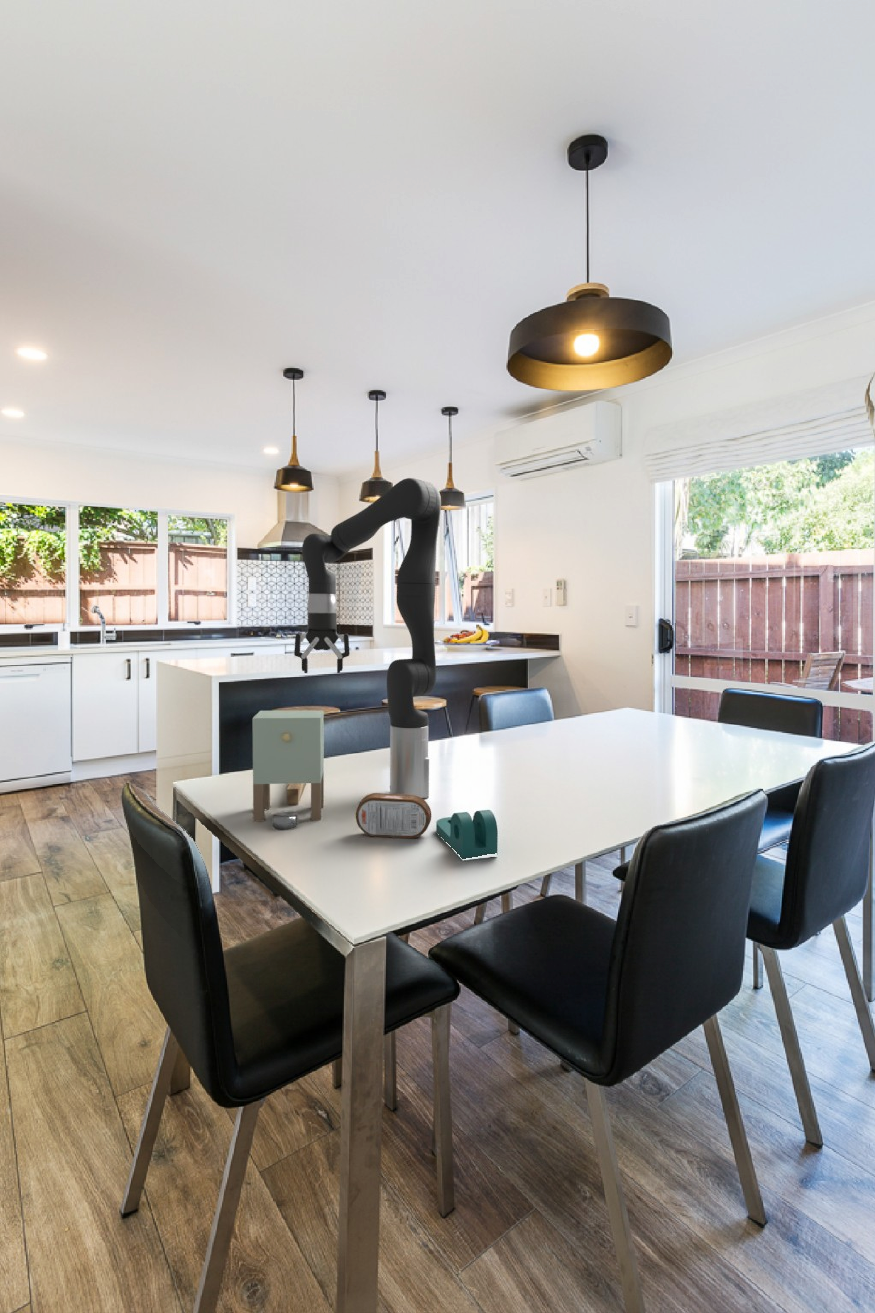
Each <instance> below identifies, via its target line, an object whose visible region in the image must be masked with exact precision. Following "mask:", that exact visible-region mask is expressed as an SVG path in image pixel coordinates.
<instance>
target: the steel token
mask: <svg viewBox="0 0 875 1313" xmlns="http://www.w3.org/2000/svg"><path fill="white" fill-rule="evenodd" d="M297 827H298V813H297V812H293V811H280V812H275V813H273V814H272V828H273V830H278V831H288V830H293V829H296V828H297Z"/></svg>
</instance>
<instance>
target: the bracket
mask: <svg viewBox="0 0 875 1313" xmlns="http://www.w3.org/2000/svg"><path fill="white" fill-rule="evenodd" d="M435 823H436V828H435V830H436V832H437V833H438V834H439V836H440V837H442V838H443V839H444V841H445V842H447V843H448V844H449V845H450V846H451V848H453V849H454V850H455V851H456V852H457V854H459V855H460V857H461V858H462V859H466V858H472V857H478V856H482V855H487V854H495V853H497V854H498V839H499V838H498V824H497V820H496V817H495V813H494V812H492V810H490V809H485V810H476V811H475V812H474V813H473V816H471V814H470V813H469V812H468V811H463V812H453V813H452V815H451V816H450V817H442V818H439V819H437V820H436V822H435ZM436 832H435V833H436ZM437 833H436V834H437ZM439 836H438V837H439ZM440 837H439V838H440ZM444 841H443V842H444ZM445 842H444V843H445ZM451 848H450V849H451Z"/></svg>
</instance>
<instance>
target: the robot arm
mask: <svg viewBox="0 0 875 1313" xmlns="http://www.w3.org/2000/svg"><path fill="white" fill-rule="evenodd" d="M440 493H441V492H440V491H439V489H438V487H437V486H436V485H434V484H433V483H431V482H428V481H425V480H421V479H417V478H414V477H408V478H404V479H402V480H400V481H398V482H397V483H396V484H395V485H393V486H392V487H390V488H389V489H388V490H387V491H386V492H385V493H384V494H383V495H381V496H380V497H379V498H377V499H376V500H374V502H371V504H369V505H368V506H367V507H365V508H364V509H362V510H361V511H359V512H358V513H356V514H354V515H352V516H351V517H348V518H346V519H345V520H342V522H340V523H338V524H336V525H335V526H334V527H333V528H332V529H331V533H330V535H327V534H326V535H325V534H320V533H309V534H308V535H307V536H306V537H305V538H304V540H303V541H302V542H303V543H302V546H301V553H302V554H301V555H302V558H303V563H304V566H305V571H306V575H307V577H308V597H307V598H308V599H307V608H306V609H307V632H306V633H305V634H303V633H299V632H297V633H296V634H295V636H294V637H295V638H294V650H293V651H294V654H293V655H294V656H295V657H298V658H300V659H301V671H302V672H304V674H308V671H309V668H308V663H309V662H308V655H310V654H311V652H312V651H313V650H315V651H321V650H323V651H329V650H331V651H332V652H333V653H334V654H335V656H336V657H337V659H336V669H337V670H336V673H337V674H340V673H341V671H343V668H344V667H343V666H344V664H343V663H344V659H345V658H347V657H349V656H350V654H351V653H350V639H349V638H350V637H349V634H348V633H344V634H339V633H338V632H337V630H338V629H337V628H338V626H337V624H338V620H337V619H338V617H337V616H338V615H337V614H338V613H337V611H338V608H337V606H338V605H337V595H336V593H337V592H336V590H337V589H336V586H337V584H336V580H337V579H336V574H335V573H333V572H331V571H329V570H328V569H327V567H326V564H327V563H335V562H337V561H339V560H341V559H342V558H344V556H345V555H347V554H348V553H349V552H350V551H351V550H352V549H354V548H356V547H358V546H360V545H363V544H364V543H366V542H368V541H369V540H370V539H371V538H373V537H374V536H375V535H376V534H377V532H378V531H379V530H380V529H381V528H382V527H383V526H385V525H386V524H388V523H391V522H393V521H396V520H397V521H398V520H399V519H404V518H405V519H407V520H410V524H411V529H410V542H409V547H408V548H407V551H406V553H405V556H404V558H403V560H402V562H401V564H400V566H399V569H398V573H397V576H396V577H397V578H396V606H397V609H398V612H399V613H400V614H399V615H400V616H401V618H402V620H403V622H404V623H405V626H406V628H407V630H408V632H409V635H410V638H411V649H412V650H411V651H412V653H411V658H401V659H400V658H399V659H395V660H393V661H392V662H391V663H390V664H389V667H388V668H387V672H386V696H387V698H386V699H387V700H386V701H387V712H388V716H389V719H390V724H389V725H390V726H389V727H390V730H389V731H390V732H389V735H390V737H389V739H390V740H389V741H390V742H389V744H390V745H389V794H405V795H416V796H418V797H420V798H422V799H426V798H429V796H430V794H429V793H430V792H429V791H430V758H429V721H430V720H429V715H428V713H427V712H425V711H423V710H420V709H418V708H416V707H415V704H414V703H415V702H414V698H416V697H423V696H428V695H430V694H431V693H432V692H433V690H434V689H435V686H436V683H437V681H436V680H437V665H436V664H437V663H436V662H437V659H436V648H435V647H436V646H435V602H436V569H437V568H436V567H437V565H436V564H437V562H436V561H437V547H438V546H437V545H438V544H437V542H438V534H439V533H438V532H439V526H440V518H441V509H442V498H441V494H440ZM305 639H306V641H307V642H308V643H309V645H308V646H307V648H306V649H305V650H304V651H303V652H301V645H302V644H301V643H302V642H304V640H305ZM338 640H340V642H341V643H343V645H344V646H343V647H344V648H343V649H344V651H343V652H341V651H340V650H339V648H338V647H337V646H336V643H337V641H338Z"/></svg>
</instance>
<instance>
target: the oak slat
mask: <svg viewBox="0 0 875 1313" xmlns="http://www.w3.org/2000/svg"><path fill="white" fill-rule="evenodd" d="M306 785H307V783H292V784H288V786H287V788H286V806H298V805H299V803H300V802H299V801H301V799H302V796H303V794H304V790H305V788H306Z"/></svg>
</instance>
